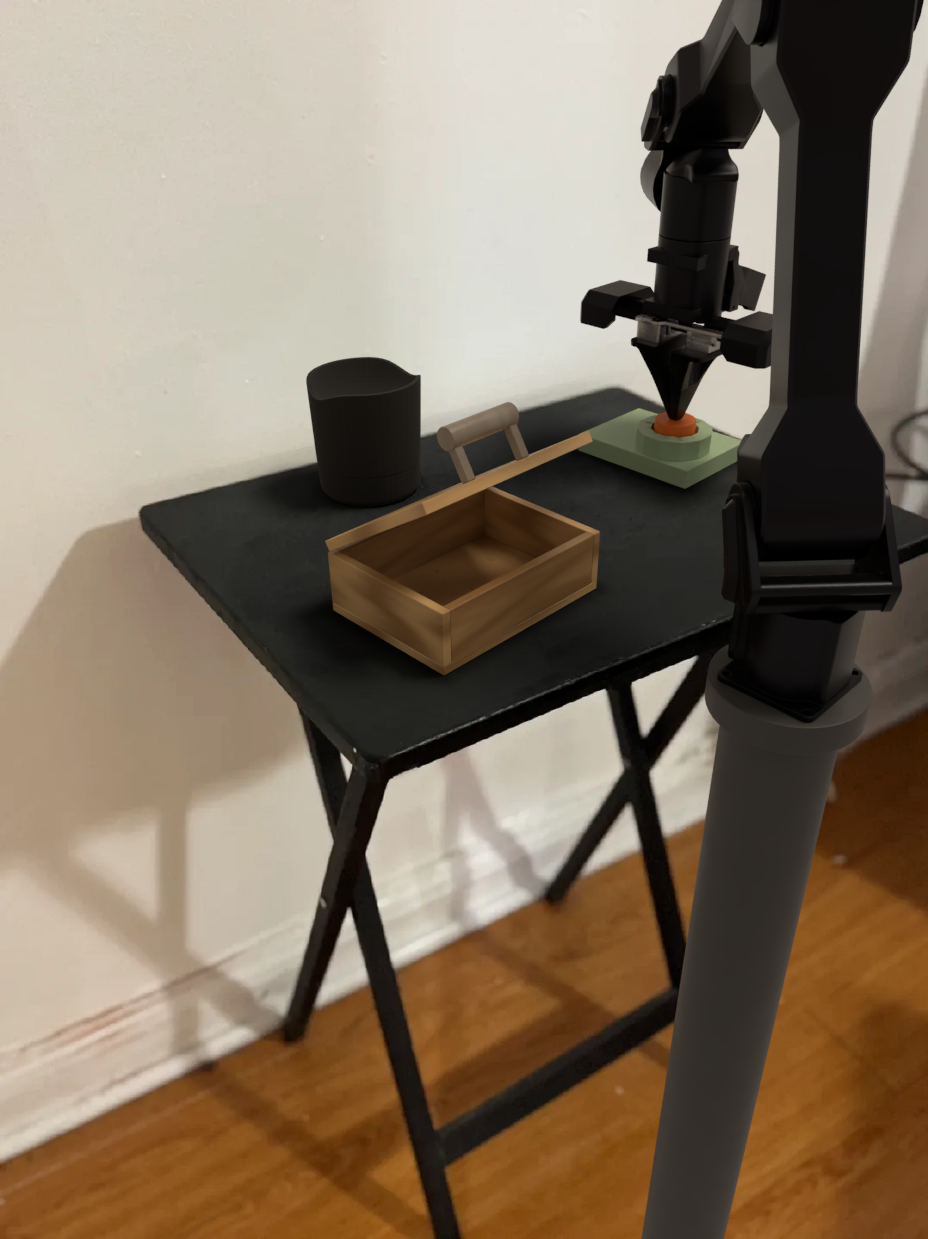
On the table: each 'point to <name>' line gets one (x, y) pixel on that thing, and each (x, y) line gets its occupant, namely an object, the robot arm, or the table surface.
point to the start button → (675, 425)
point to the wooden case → (464, 576)
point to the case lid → (468, 467)
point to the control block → (662, 449)
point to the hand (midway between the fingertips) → (675, 418)
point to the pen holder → (366, 430)
